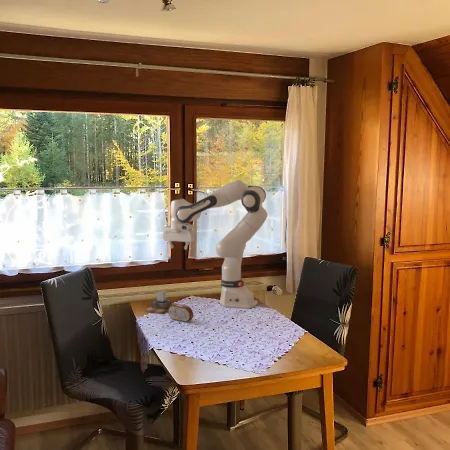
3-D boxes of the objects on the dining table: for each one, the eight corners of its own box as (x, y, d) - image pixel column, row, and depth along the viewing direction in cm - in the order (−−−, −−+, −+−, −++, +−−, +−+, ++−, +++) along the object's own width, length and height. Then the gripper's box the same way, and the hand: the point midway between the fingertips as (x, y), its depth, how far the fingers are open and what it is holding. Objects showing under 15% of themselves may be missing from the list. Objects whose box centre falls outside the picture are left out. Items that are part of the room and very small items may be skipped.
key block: (166, 306, 279) (165, 291, 278) (163, 307, 276) (163, 293, 275) (160, 305, 280) (159, 291, 279) (157, 306, 278) (156, 292, 277)
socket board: (177, 305, 284) (177, 298, 283) (162, 314, 268) (162, 306, 268) (161, 303, 288) (161, 296, 288) (145, 311, 273) (145, 304, 272)
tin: (193, 322, 255) (193, 306, 254) (190, 323, 252) (189, 308, 251) (171, 317, 263) (170, 302, 262) (167, 319, 260) (167, 303, 259)
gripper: (160, 225, 293) (161, 248, 295) (190, 227, 285) (191, 250, 286) (165, 224, 299) (166, 246, 300) (195, 225, 290) (196, 248, 292)
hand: (178, 248), depth 293 cm, fingers open, 8 cm apart
